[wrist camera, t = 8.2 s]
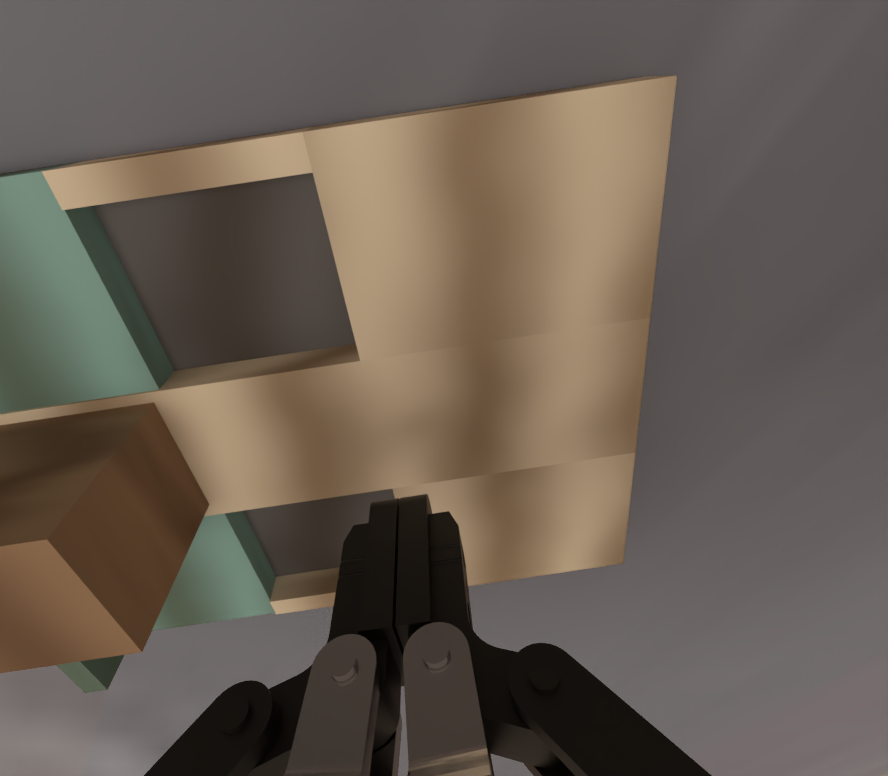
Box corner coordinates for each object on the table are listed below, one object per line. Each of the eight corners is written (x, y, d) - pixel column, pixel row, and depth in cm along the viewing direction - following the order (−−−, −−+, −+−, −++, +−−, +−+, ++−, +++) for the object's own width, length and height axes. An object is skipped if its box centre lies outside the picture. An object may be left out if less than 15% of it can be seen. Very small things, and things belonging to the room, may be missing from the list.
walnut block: (153, 402, 17) (46, 539, 12) (209, 504, 19) (142, 651, 14) (-17, 427, 17) (-197, 575, 12) (62, 526, 20) (-57, 681, 14)
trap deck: (644, 76, 14) (731, 73, 11) (608, 531, 25) (645, 610, 21) (-179, 200, 15) (-385, 241, 11) (132, 601, 25) (85, 692, 21)
